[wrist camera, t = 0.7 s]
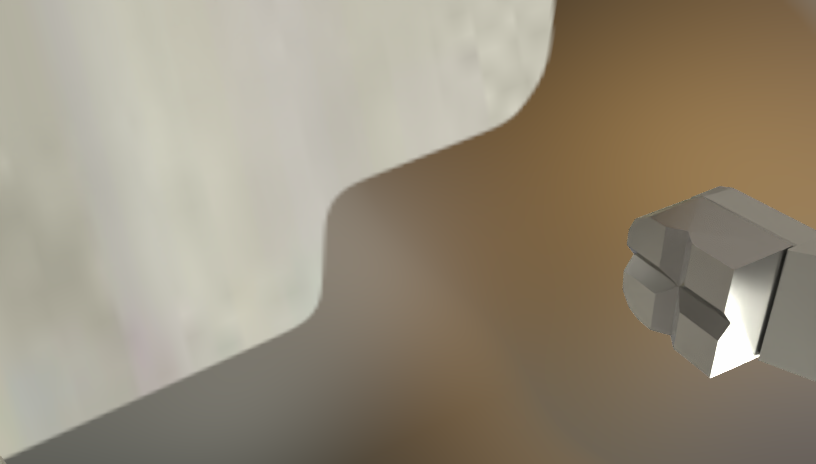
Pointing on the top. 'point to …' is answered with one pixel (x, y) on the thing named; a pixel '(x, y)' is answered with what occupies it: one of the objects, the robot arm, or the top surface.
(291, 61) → the top surface
